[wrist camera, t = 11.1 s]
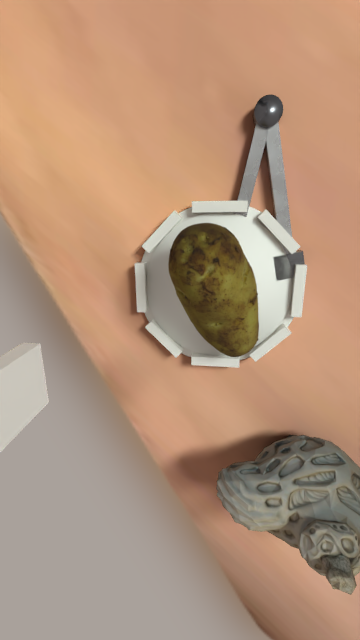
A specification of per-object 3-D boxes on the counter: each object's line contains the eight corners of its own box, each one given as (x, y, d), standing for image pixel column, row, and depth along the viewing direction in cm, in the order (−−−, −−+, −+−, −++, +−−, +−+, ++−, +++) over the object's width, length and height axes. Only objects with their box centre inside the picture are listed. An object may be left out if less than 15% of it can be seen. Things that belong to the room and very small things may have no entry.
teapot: (206, 470, 41) (196, 601, 27) (230, 394, 38) (233, 499, 23) (372, 518, 40) (453, 682, 26) (413, 444, 36) (535, 588, 22)
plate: (136, 203, 33) (131, 202, 31) (309, 200, 30) (314, 199, 29) (143, 355, 38) (139, 362, 36) (292, 363, 35) (295, 370, 34)
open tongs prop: (215, 103, 29) (215, 97, 28) (321, 97, 28) (326, 91, 27) (212, 277, 34) (211, 280, 32) (302, 279, 33) (305, 281, 31)
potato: (178, 344, 35) (165, 377, 28) (175, 223, 32) (159, 224, 24) (255, 346, 34) (263, 382, 27) (261, 221, 30) (272, 220, 23)
